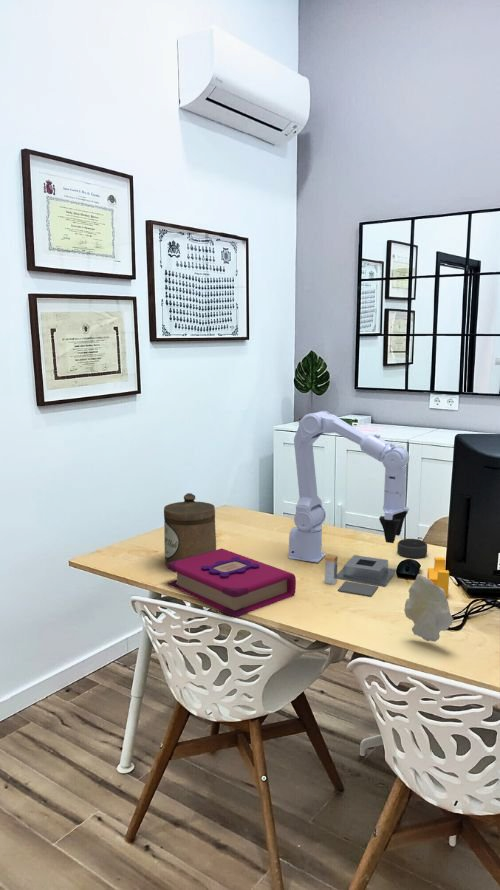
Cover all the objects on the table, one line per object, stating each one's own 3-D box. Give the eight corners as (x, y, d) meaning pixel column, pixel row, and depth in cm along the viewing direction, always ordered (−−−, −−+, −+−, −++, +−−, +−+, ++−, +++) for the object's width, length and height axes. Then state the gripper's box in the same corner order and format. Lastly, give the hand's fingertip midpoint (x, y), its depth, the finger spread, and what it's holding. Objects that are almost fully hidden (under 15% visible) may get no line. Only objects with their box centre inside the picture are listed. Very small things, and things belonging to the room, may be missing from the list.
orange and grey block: (324, 583, 175) (325, 557, 174) (327, 580, 178) (328, 554, 177) (333, 585, 174) (334, 558, 173) (336, 582, 177) (337, 555, 176)
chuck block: (334, 578, 179) (335, 566, 179) (348, 564, 191) (348, 552, 190) (385, 586, 173) (385, 573, 173) (396, 571, 185) (396, 559, 184)
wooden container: (165, 560, 195) (163, 488, 191) (214, 558, 196) (214, 487, 193) (164, 578, 180) (162, 500, 177) (217, 575, 182) (217, 499, 178)
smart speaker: (416, 549, 206) (417, 536, 205) (432, 557, 197) (433, 545, 197) (391, 551, 203) (392, 539, 202) (407, 560, 195) (407, 548, 194)
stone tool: (454, 644, 140) (458, 578, 138) (448, 650, 137) (451, 583, 135) (407, 630, 147) (410, 567, 144) (400, 636, 144) (402, 571, 142)
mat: (337, 591, 170) (337, 589, 170) (345, 582, 176) (345, 581, 176) (371, 597, 166) (371, 595, 166) (378, 587, 173) (378, 586, 173)
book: (225, 570, 188) (225, 544, 186) (296, 597, 167) (296, 569, 166) (165, 588, 174) (165, 561, 172) (234, 620, 153) (234, 590, 152)
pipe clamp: (427, 579, 179) (428, 556, 178) (443, 580, 179) (444, 557, 178) (430, 595, 168) (431, 571, 167) (448, 596, 167) (449, 572, 166)
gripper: (404, 498, 171) (401, 547, 173) (414, 487, 184) (412, 533, 186) (377, 495, 174) (375, 544, 176) (389, 484, 187) (388, 530, 189)
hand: (392, 538), depth 181 cm, fingers open, 7 cm apart
